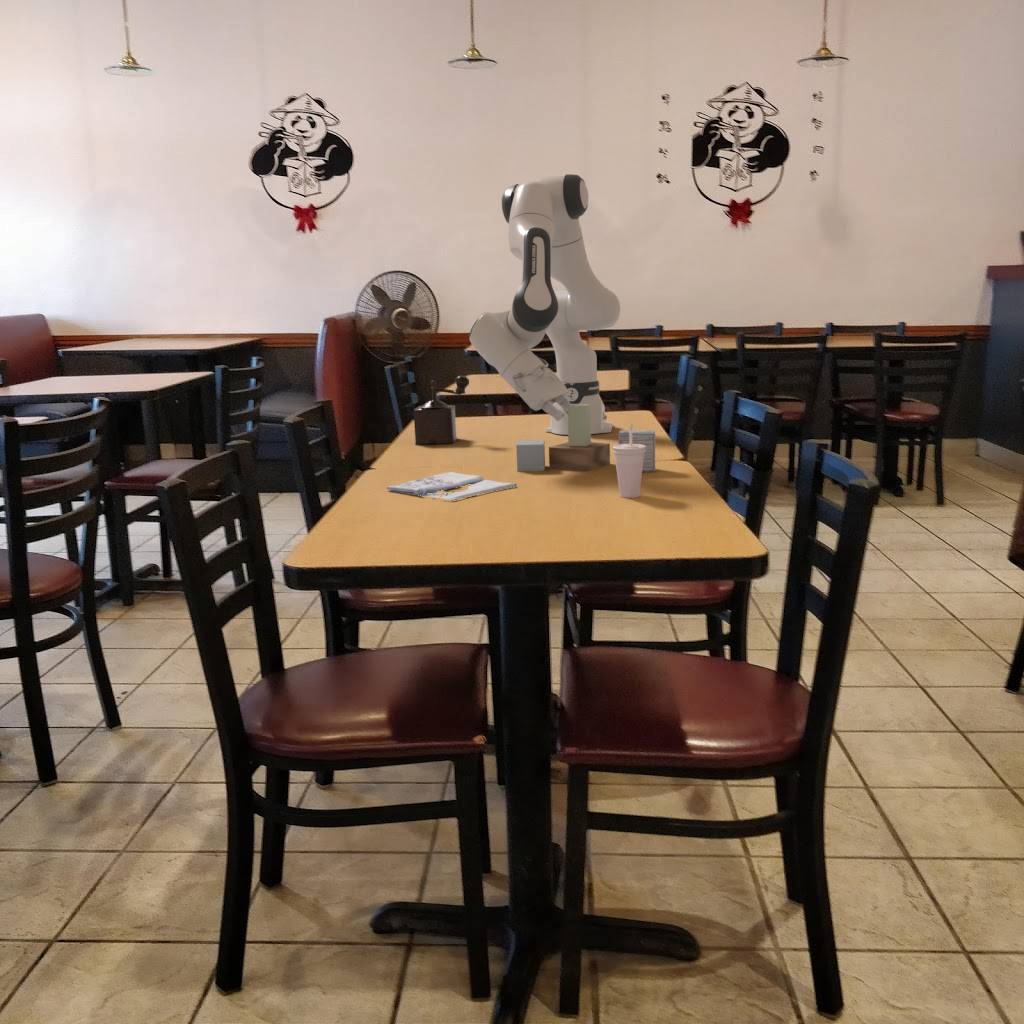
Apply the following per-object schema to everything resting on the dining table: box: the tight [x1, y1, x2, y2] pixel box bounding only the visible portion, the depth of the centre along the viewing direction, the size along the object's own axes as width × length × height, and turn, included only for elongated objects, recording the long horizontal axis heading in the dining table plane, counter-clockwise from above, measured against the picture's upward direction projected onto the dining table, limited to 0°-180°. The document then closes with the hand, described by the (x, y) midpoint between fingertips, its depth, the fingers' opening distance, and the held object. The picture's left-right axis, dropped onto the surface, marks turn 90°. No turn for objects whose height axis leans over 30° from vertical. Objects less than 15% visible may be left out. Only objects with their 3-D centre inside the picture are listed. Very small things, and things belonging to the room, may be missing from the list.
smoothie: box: [612, 423, 646, 499], centre depth 182 cm, size 6×6×14 cm
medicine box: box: [618, 429, 656, 473], centre depth 208 cm, size 8×4×9 cm, turn 84°
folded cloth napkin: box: [386, 471, 517, 501], centre depth 196 cm, size 19×20×2 cm
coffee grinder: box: [413, 375, 470, 446], centre depth 258 cm, size 16×11×18 cm
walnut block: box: [548, 441, 611, 472], centre depth 217 cm, size 10×10×5 cm
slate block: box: [516, 439, 546, 472], centre depth 215 cm, size 6×6×6 cm
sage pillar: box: [567, 404, 592, 447], centre depth 215 cm, size 4×4×9 cm
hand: (567, 415), depth 216 cm, fingers open, 8 cm apart
